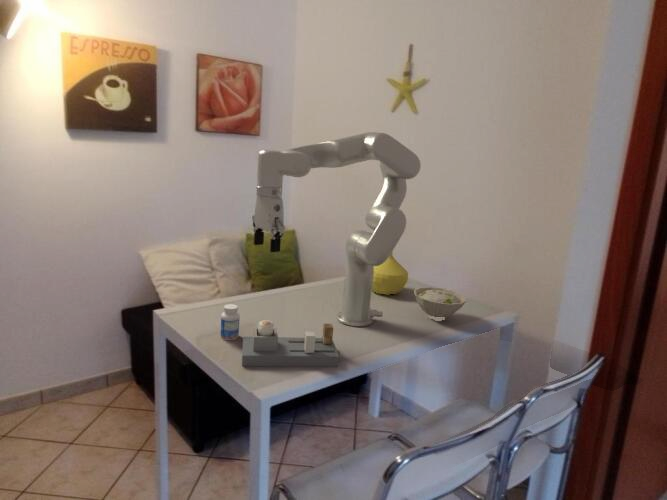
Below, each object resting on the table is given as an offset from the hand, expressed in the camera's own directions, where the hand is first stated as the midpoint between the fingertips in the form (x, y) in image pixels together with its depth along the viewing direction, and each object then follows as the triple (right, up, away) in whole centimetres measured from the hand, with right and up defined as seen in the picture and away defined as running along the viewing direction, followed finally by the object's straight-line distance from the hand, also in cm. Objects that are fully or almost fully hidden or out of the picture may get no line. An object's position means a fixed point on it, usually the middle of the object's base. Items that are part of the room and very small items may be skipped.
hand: (266, 248), depth 145 cm
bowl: (+59, -26, +30) cm, 71 cm away
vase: (+42, -18, +55) cm, 72 cm away
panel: (+8, -31, -12) cm, 34 cm away
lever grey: (+14, -28, -14) cm, 35 cm away
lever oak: (+19, -27, -8) cm, 34 cm away
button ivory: (+2, -25, -14) cm, 28 cm away
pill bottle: (-11, -27, -3) cm, 29 cm away
